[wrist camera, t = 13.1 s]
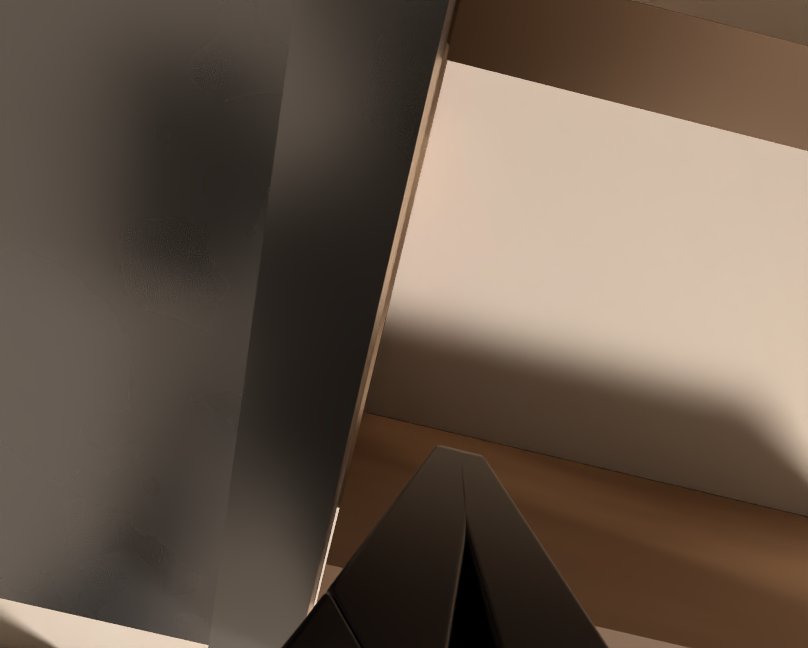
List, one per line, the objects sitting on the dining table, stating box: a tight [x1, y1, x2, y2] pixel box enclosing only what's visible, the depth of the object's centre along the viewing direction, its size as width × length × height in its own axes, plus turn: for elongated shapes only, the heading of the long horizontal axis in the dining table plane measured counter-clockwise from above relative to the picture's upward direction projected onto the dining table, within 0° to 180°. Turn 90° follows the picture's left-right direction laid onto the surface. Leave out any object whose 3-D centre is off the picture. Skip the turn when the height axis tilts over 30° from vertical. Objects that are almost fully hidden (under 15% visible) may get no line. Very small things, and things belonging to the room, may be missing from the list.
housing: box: [317, 0, 808, 648], centre depth 13 cm, size 12×31×5 cm, turn 77°
